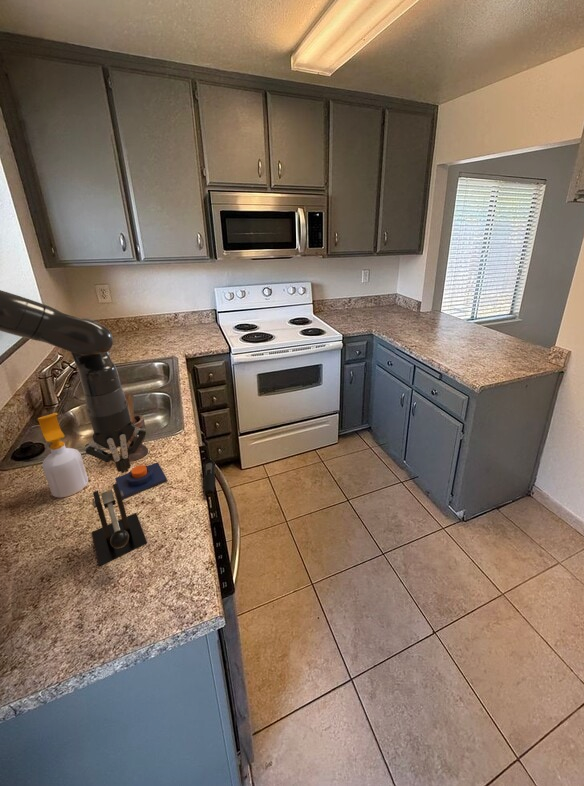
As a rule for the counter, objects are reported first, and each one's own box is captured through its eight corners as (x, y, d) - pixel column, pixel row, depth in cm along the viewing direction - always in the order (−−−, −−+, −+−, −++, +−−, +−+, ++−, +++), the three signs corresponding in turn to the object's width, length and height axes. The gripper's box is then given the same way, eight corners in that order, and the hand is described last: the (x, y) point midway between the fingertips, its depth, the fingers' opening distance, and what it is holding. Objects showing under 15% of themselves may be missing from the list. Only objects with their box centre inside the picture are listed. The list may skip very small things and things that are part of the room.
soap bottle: (56, 503, 99) (29, 426, 91) (48, 488, 105) (23, 414, 97) (92, 486, 105) (71, 413, 97) (83, 473, 111) (62, 403, 103)
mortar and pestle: (118, 449, 123) (105, 397, 116) (145, 440, 128) (134, 389, 121) (124, 465, 115) (111, 410, 108) (153, 455, 120) (142, 402, 113)
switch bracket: (148, 547, 85) (136, 497, 80) (100, 570, 79) (83, 519, 74) (137, 516, 94) (125, 470, 89) (93, 536, 88) (78, 488, 83)
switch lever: (131, 545, 79) (130, 539, 76) (113, 554, 77) (111, 548, 74) (116, 493, 85) (114, 486, 83) (99, 500, 83) (96, 493, 81)
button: (133, 480, 102) (132, 475, 102) (131, 473, 105) (129, 468, 105) (148, 474, 105) (147, 470, 104) (145, 468, 108) (144, 463, 107)
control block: (123, 503, 99) (119, 491, 98) (116, 484, 106) (113, 472, 105) (167, 484, 106) (165, 473, 104) (159, 467, 113) (156, 457, 112)
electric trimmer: (202, 500, 100) (200, 491, 99) (203, 466, 114) (202, 457, 113) (216, 497, 101) (215, 488, 100) (216, 463, 115) (214, 455, 114)
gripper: (136, 392, 86) (150, 452, 92) (71, 410, 79) (90, 474, 85) (143, 404, 81) (157, 467, 87) (73, 423, 73) (94, 491, 79)
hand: (124, 470), depth 86 cm, fingers closed
